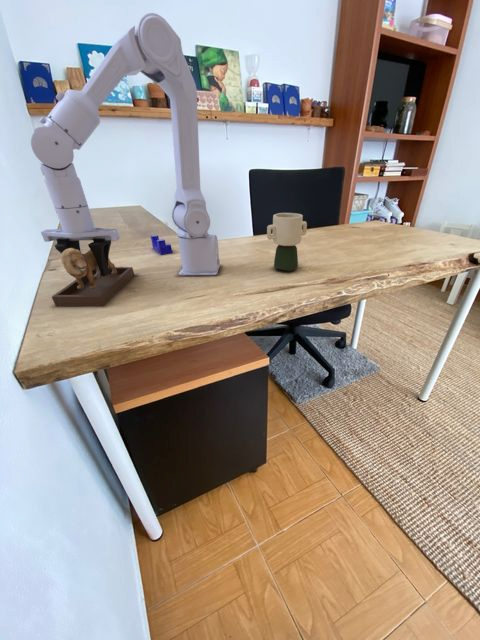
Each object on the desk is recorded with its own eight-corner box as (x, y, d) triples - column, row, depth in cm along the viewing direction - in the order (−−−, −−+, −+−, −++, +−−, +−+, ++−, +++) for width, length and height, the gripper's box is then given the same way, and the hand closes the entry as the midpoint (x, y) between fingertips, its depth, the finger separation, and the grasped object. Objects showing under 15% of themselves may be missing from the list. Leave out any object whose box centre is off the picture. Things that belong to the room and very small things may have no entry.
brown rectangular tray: (134, 275, 73) (132, 267, 72) (103, 306, 59) (99, 296, 58) (96, 275, 73) (93, 267, 72) (55, 306, 59) (51, 296, 58)
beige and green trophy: (296, 262, 81) (299, 211, 74) (310, 269, 76) (315, 215, 69) (261, 267, 78) (260, 214, 70) (273, 276, 72) (274, 219, 65)
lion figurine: (92, 296, 59) (77, 252, 54) (66, 296, 59) (48, 251, 54) (121, 270, 71) (111, 232, 66) (99, 270, 71) (88, 231, 66)
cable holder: (172, 253, 89) (169, 239, 87) (160, 254, 88) (158, 241, 85) (163, 247, 95) (161, 234, 92) (153, 248, 93) (150, 235, 91)
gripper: (117, 202, 60) (134, 268, 68) (45, 203, 60) (70, 268, 67) (102, 208, 54) (122, 279, 62) (23, 209, 54) (53, 279, 62)
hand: (94, 274), depth 64 cm, fingers closed on lion figurine, 4 cm apart
